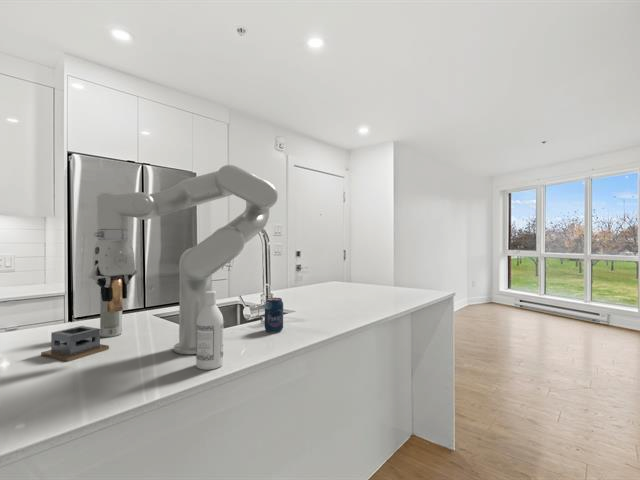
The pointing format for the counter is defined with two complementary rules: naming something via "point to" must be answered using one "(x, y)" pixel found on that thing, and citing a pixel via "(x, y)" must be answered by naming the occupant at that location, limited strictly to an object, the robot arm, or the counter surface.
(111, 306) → the copper tube
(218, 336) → the bath foam
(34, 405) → the counter surface
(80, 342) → the collar stand
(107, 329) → the spray can
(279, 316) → the soda can
